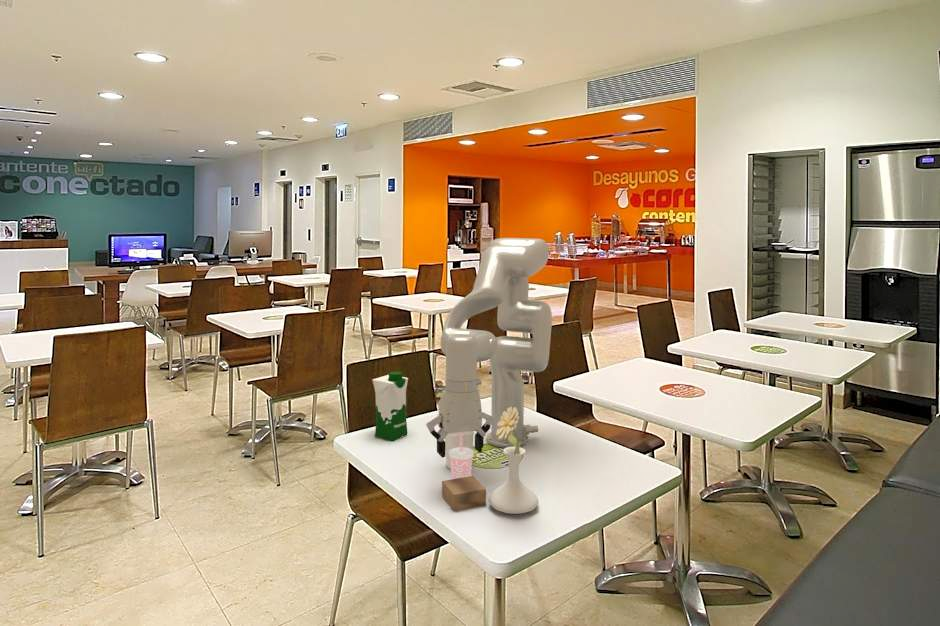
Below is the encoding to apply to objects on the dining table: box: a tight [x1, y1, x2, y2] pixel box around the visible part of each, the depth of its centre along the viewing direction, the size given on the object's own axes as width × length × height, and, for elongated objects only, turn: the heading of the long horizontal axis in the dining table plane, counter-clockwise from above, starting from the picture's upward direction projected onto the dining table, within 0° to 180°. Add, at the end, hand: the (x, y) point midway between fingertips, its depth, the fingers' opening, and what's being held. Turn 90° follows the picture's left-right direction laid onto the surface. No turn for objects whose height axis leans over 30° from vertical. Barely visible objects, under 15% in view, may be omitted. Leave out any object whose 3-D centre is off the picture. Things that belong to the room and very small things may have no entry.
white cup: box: [444, 431, 475, 470], centre depth 170 cm, size 8×8×10 cm
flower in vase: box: [488, 407, 539, 515], centre depth 144 cm, size 13×11×25 cm
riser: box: [441, 475, 487, 512], centre depth 150 cm, size 8×8×4 cm
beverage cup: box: [449, 432, 475, 479], centre depth 157 cm, size 6×6×14 cm
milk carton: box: [372, 370, 409, 442], centre depth 191 cm, size 9×9×20 cm
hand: (460, 453), depth 156 cm, fingers open, 9 cm apart
